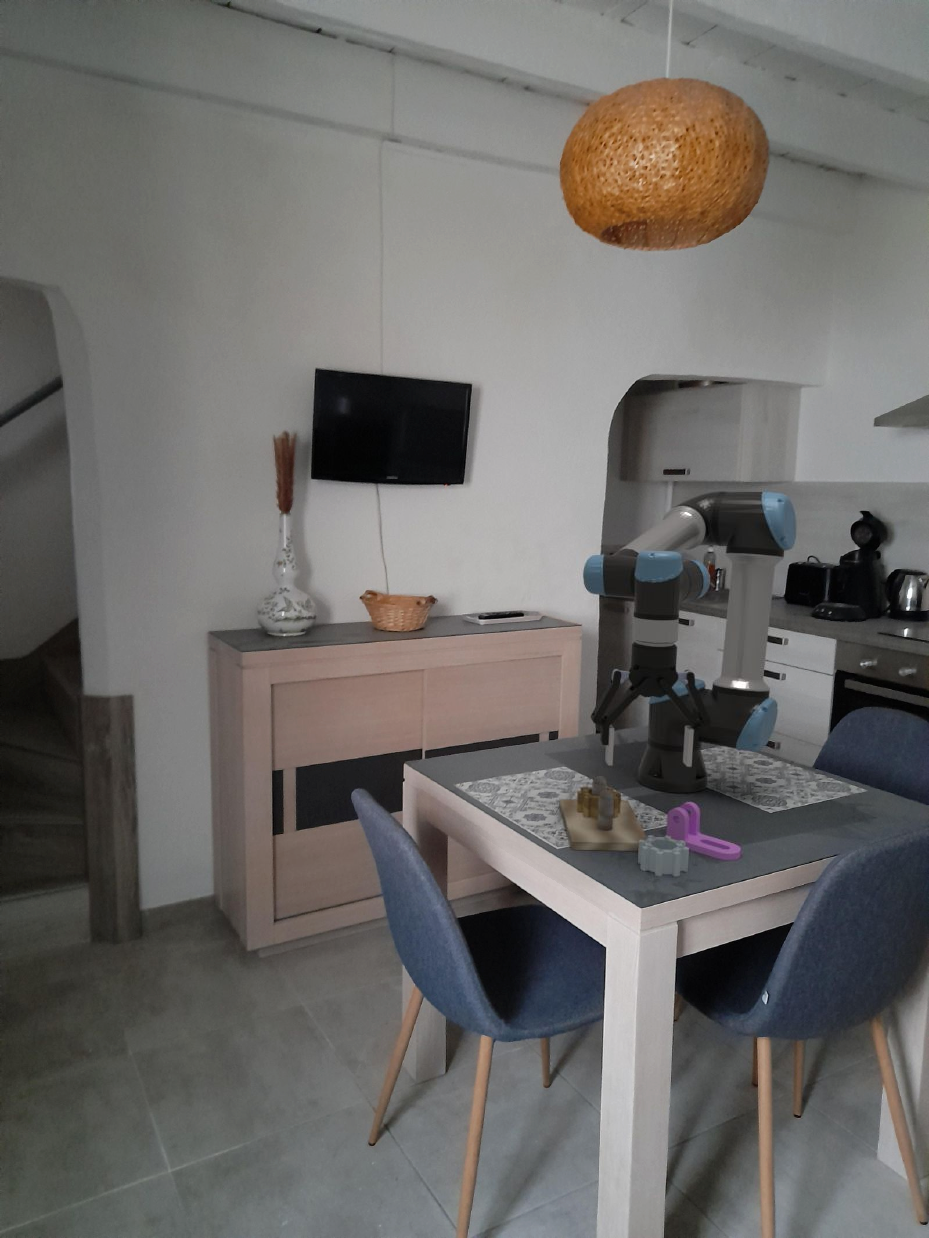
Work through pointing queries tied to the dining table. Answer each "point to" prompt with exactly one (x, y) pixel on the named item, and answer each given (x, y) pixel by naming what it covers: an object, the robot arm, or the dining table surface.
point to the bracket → (697, 834)
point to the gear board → (601, 838)
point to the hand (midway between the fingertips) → (648, 763)
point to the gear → (663, 855)
